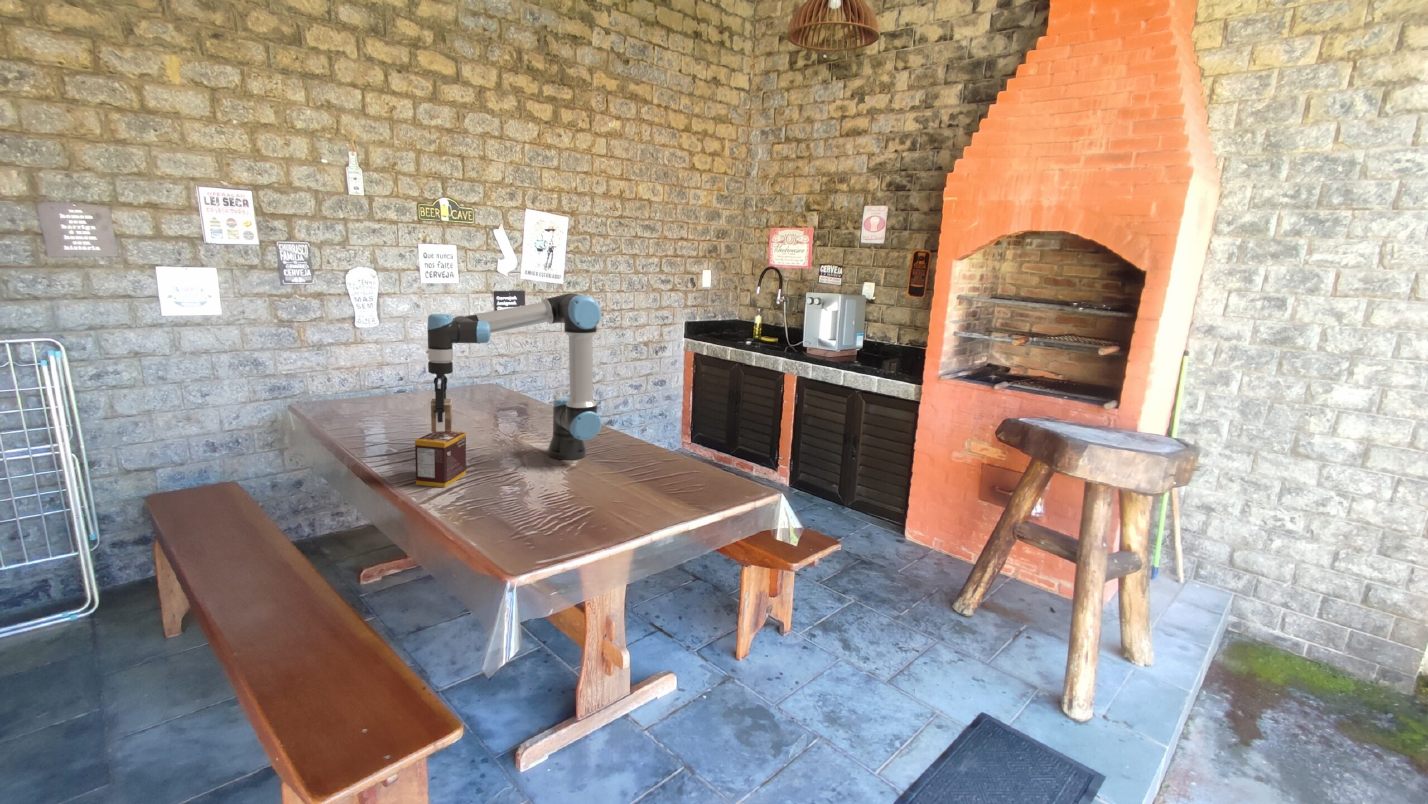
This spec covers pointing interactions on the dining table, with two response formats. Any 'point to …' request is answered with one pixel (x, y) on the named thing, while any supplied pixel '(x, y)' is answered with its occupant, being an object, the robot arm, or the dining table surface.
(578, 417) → the robot arm
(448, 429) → the walnut block
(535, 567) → the dining table surface
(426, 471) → the supplement box
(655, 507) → the dining table surface
